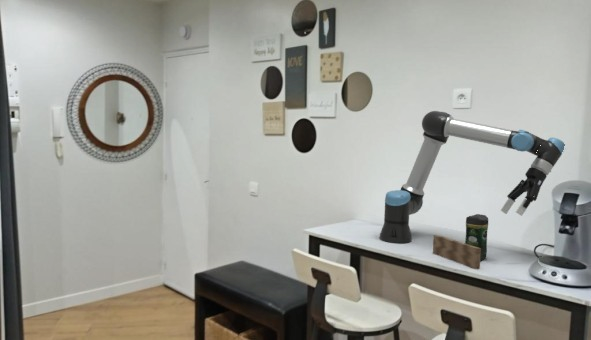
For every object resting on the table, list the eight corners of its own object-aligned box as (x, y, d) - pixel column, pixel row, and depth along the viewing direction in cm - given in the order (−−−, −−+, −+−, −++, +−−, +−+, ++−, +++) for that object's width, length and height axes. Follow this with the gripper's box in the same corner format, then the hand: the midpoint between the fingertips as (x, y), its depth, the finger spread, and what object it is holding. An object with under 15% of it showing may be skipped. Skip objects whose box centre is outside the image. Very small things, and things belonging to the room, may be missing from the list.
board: (432, 253, 197) (433, 235, 196) (436, 252, 198) (437, 234, 197) (475, 269, 175) (477, 248, 175) (479, 268, 176) (481, 248, 175)
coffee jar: (470, 254, 197) (473, 212, 196) (488, 258, 192) (491, 214, 190) (460, 258, 190) (463, 214, 189) (479, 262, 185) (482, 217, 183)
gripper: (563, 175, 180) (533, 220, 179) (530, 177, 205) (504, 216, 204) (547, 164, 180) (517, 209, 179) (516, 167, 205) (490, 206, 204)
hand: (510, 213), depth 192 cm, fingers open, 13 cm apart
